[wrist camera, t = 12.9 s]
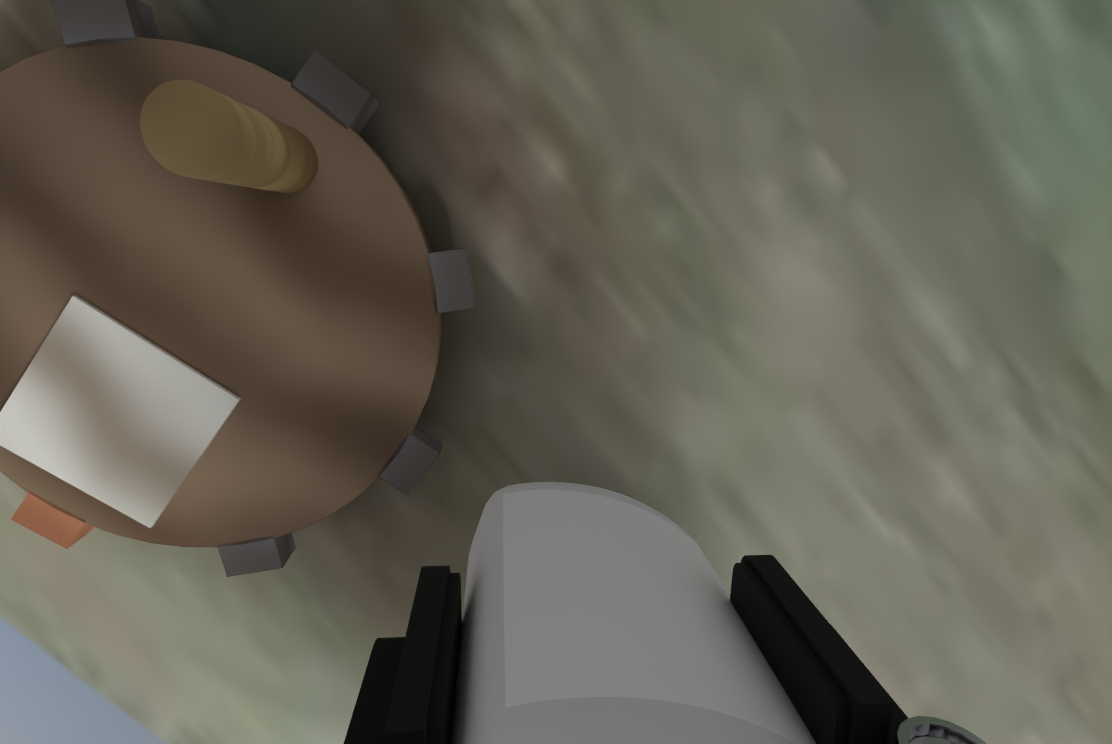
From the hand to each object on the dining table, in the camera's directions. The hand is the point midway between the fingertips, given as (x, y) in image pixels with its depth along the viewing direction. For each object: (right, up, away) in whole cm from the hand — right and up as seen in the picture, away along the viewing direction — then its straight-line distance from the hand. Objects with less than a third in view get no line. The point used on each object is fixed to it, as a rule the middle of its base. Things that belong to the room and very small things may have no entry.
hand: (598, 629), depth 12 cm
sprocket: (-16, +8, +13) cm, 22 cm away
